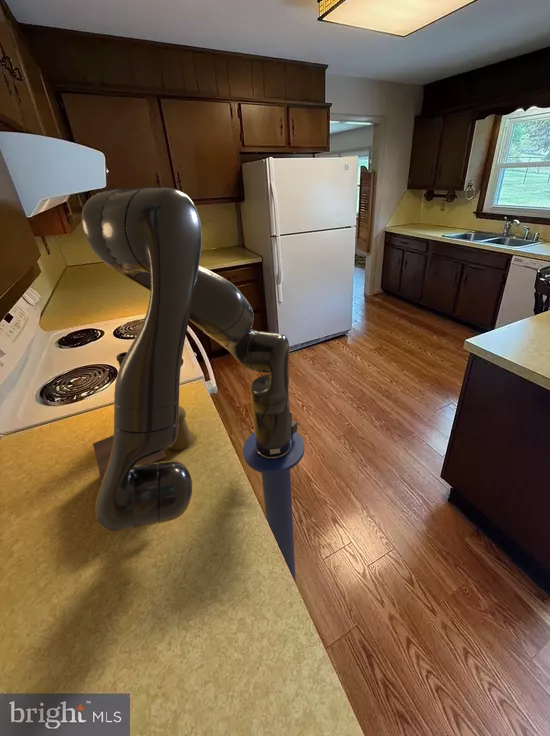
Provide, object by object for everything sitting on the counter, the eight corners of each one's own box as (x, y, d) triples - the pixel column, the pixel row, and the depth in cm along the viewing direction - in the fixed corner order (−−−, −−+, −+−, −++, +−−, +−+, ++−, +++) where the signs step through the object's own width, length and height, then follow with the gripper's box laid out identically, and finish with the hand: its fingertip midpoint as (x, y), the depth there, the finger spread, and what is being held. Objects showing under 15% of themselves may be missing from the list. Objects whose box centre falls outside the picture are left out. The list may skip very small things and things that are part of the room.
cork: (192, 431, 93) (185, 400, 89) (193, 446, 88) (186, 413, 83) (169, 437, 91) (161, 405, 87) (169, 452, 86) (161, 419, 82)
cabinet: (174, 486, 77) (166, 456, 73) (114, 516, 70) (102, 485, 66) (157, 449, 87) (149, 421, 83) (104, 472, 81) (92, 443, 77)
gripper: (176, 453, 58) (169, 461, 73) (92, 492, 51) (102, 492, 66) (192, 494, 57) (181, 494, 71) (106, 540, 50) (114, 529, 64)
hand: (143, 493), depth 68 cm, fingers closed
